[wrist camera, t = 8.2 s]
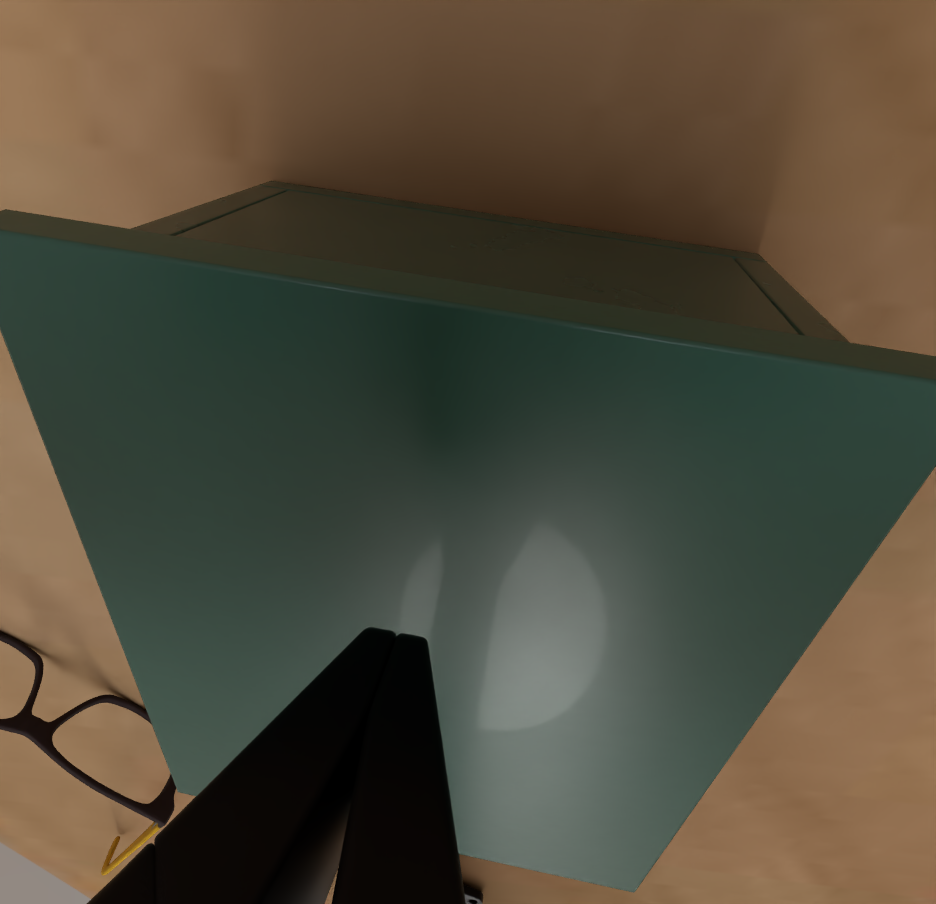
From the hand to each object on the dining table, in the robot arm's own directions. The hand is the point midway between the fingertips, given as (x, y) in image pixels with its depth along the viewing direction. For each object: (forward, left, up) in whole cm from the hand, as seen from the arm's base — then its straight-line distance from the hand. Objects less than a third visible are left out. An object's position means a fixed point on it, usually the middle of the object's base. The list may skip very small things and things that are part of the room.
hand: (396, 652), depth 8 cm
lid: (-3, -1, -3) cm, 4 cm away
